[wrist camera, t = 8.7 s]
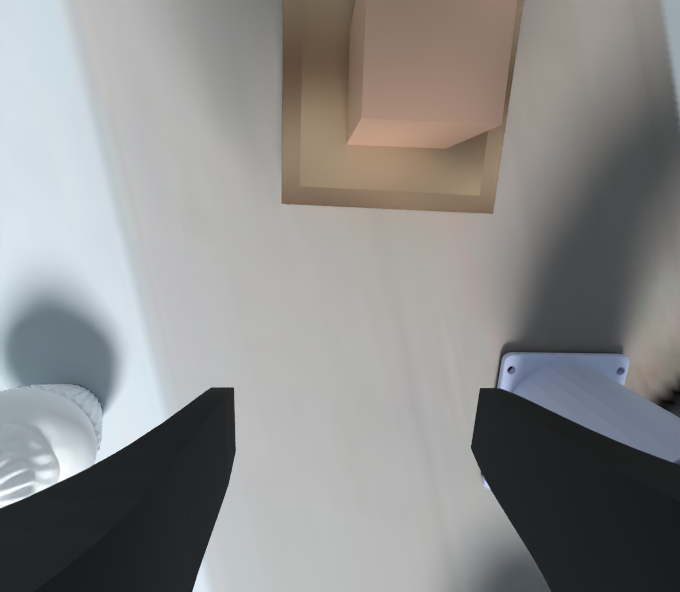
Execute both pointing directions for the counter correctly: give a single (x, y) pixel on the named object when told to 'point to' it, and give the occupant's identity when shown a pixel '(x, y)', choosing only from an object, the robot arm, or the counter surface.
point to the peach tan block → (427, 70)
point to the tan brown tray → (363, 160)
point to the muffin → (45, 437)
